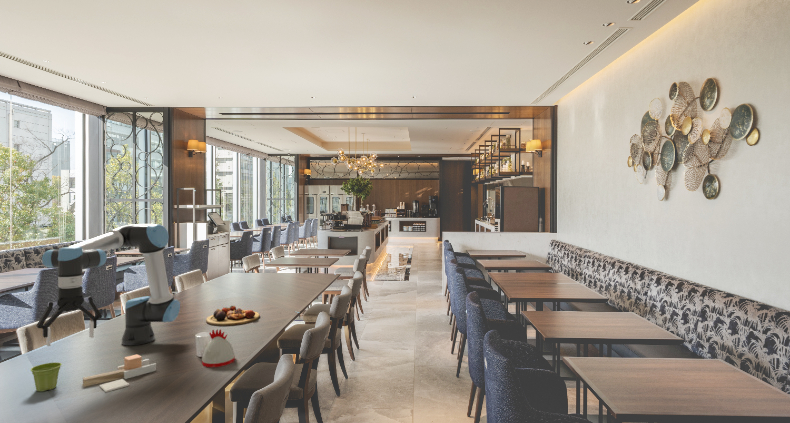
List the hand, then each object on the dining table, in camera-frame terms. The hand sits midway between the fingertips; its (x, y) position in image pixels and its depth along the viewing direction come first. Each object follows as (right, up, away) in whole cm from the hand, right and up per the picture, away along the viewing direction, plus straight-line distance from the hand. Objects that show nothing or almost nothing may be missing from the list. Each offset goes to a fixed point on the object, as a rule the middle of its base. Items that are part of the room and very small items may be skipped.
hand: (70, 341), depth 163 cm
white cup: (+34, -19, +39) cm, 56 cm away
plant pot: (-11, -19, +2) cm, 22 cm away
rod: (+7, -19, +9) cm, 22 cm away
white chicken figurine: (+45, -19, +30) cm, 58 cm away
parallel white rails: (+15, -19, +18) cm, 30 cm away
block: (+14, -19, +17) cm, 29 cm away
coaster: (+15, -19, +4) cm, 24 cm away
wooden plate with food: (+24, -19, +104) cm, 108 cm away
